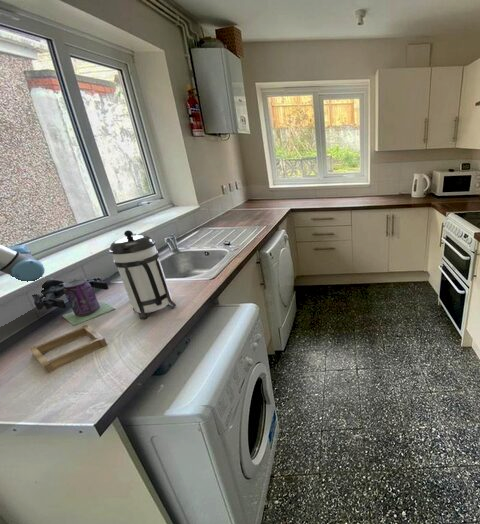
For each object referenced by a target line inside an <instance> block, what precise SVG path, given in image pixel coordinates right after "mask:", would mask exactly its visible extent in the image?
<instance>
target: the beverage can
mask: <svg viewBox="0 0 480 524" xmlns="http://www.w3.org/2000/svg"><path fill="white" fill-rule="evenodd" d="M77 279H78V280H74V279H73V280H74V281H73V280H71V281H68V282H65V283H66V284H64V285H63V287H64V293H65V294H64V295H65V298H66V299H67V301H68V303H69V305H70V307H71V309H72V312H73V311H74V313H75V315H77V316H84V315H89V314H91V313H94V312H95V311H97V310H98V309H99V308H100V305H99V303H98V302H99V301H98V298H97V296H96V295H95V291H94V289H93V287H91V285H90V283H88V282H87V280H86V279H87V278H77Z"/></svg>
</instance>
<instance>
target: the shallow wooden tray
mask: <svg viewBox="0 0 480 524" xmlns="http://www.w3.org/2000/svg"><path fill="white" fill-rule="evenodd" d="M86 335H87V336H88V337H90V339H92V341H89V342H87V343H84V344H83V345H79V346H78V347H76V348H74V349H72V350H69V351H67V352H65V353H63V354H61V355H58V356H55V357H54V358H51V359H50V360H47V358H46V357H45V356H44V355H43V354H45V353H48V352H50V351H53V350H54V349H57V348H59V347H61V346H64V345H66V344H68V343H70V342H74V341H76V340H77V339H80V338H82V337H85V336H86ZM106 346H108V344H107V341H106V339H105V338H104V337H103V336H102V335H100V333H98V332H97V331H96V330H94V329H93V328H91V327H90V326H89V325H87V324H85V325H83V326H81V327H79V328H77V329H75V330H72V331H69V332H67V333H65V334H62V335H59V336H57V337H55V338H53V339H49V340H47V341H45V342H43V343H40V344H38V345H36V346H35V345H34V346H31V347H29V351H30V352H31V355H32V356H33V357H34V358H35V360H36V361H37V362H38V364H39V365H40V366H41V367H42V368H43V369H44V371H45V372H46V373H47V374H49V373H51V372H54V370H56V369H59V368H60V367H62V366H64V365H67V364H69V363H71V362H73V361H75V360H77V359H79V358H81V357H83V356H86V355H87V354H90V353H92V352H93V351H96V350H98V349H100V348H104V347H106Z"/></svg>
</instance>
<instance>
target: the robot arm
mask: <svg viewBox="0 0 480 524" xmlns="http://www.w3.org/2000/svg"><path fill="white" fill-rule="evenodd" d="M45 270H46V269H45V267H44V265H43V263H41V261H39V260H38V259H36V258H35V257H34V256H33V255H32V252H31V250H30V249H29V247H28V246H27V245H23V244H19V245H11V246H5V245H3V244H1V243H0V272H1V273H5V274H6V275H9V276H10V277H11V276H12V277H15V278H16V279H18V280H21V281H27V282H28V281H35V280H37V279H39V278H40V277H44V274H45ZM78 279H79V278H75V279H73V280H72V281H74V280H78ZM85 279H86V280H87V282H88V283H90V285H91V287H92V288H94V289H100V290H105V291H108V290H109V286H108V284H107V282H106V281H103V280H102V278H101V277H90V278H85ZM66 283H67V282H65V281H62V279H61V280H60V279H57V278H56V279H55V278H51V279H50V280H47V281H46V282H45V283H44V284H43V285H42V288H44V290H42V291H41V293H42V294H41V295H40V294H38V295H37V294H34V295H32V296H31V297H32V299H33V300H34V301H33V303H34V305H35V307H36V309H37V310H42V309H44V308H45V309H46V310H50V309H51V308H60V309H66V308H67V305H66V303H65V301H64V300H63V299H59V298H62V297H63V296H64V295H65V293H64V287H63V285H64V284H66ZM43 297H45V298H43Z"/></svg>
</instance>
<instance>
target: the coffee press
mask: <svg viewBox="0 0 480 524" xmlns="http://www.w3.org/2000/svg"><path fill="white" fill-rule="evenodd" d="M133 234H134V233H133V231H131V230H128V229H127V230H125V231H124V234H123V235H124V236H125V237H121V238H118V239H116V240H114V241H113V242H111V244H110V245H109V248H108V252H109V254H110V255H111V256H112V258H113V263H114V266H115V267H116V268H117V270H118V273H119V276H120V278H121V281H122V283H123V286H124V289H125V291H126V293H127V297H128V299H129V301H130V303H131V306H132V310H133V311H134V312H136V313H140V314H139V319H140V320H142V321H143V320H146V319H147V318H148V314H149V313H153V312H157V311H159V310H162V309H164V308H167V307H168V308H169V309H173V310H174V309H175V308H176V307H177V304H176V303H175V302H174V301H173V300H172V299H173V298H172V294H171V291H170V287H169V284H168V282H167V278H166V275H165V273H164V269H163V266H162V263H161V260H160V254H159V251H158V249H157V248H156V247H157V246H156V241H155V240H154V239H153V238H152V237H150V236H148V235H143V234H142V235H141V234H136V236H132V235H133Z"/></svg>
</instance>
